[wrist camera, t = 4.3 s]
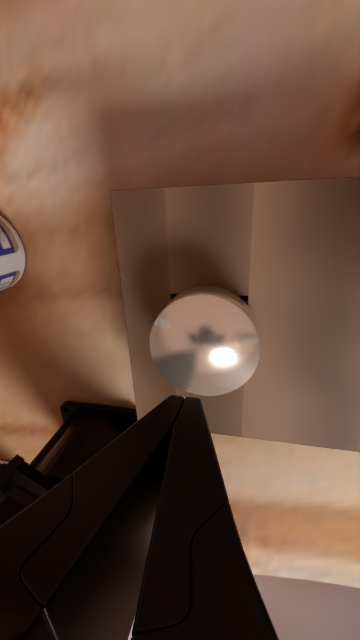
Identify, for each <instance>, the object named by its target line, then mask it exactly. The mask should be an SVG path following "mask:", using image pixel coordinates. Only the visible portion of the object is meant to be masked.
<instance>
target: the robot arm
mask: <svg viewBox="0 0 360 640" xmlns="http://www.w3.org/2000/svg"><path fill="white" fill-rule="evenodd" d="M60 410H61V414H62V418H63V424H62V426H61V427H60V428H59V429H58V431H57V432H56V433H55V434H54V435H53V437H52V438H51V439H50V440H49V441H48V443H47V444H46V445H45V446H44V447H43V449H42V450H41V451H40V452H39V454H38V455H37V456H36V457H35V458H34V460H33V461H32V462H31V463H30V464H28V463H26V462H25V461H24V458H22V457H21V456H19V455H18V454H17V455H16V456H15V457H14V458H13V459H12V460H11V461H10V462H9V463H8V464H6V463H4V464H0V640H128V636H129V633H130V630H131V627H132V624H133V621H134V625H133V630H132V638H131V640H279V639H278V636H277V634H276V631H275V629H274V626H273V624H272V621H271V619H270V616H269V614H268V612H267V609H266V607H265V604H264V602H263V599H262V597H261V594H260V592H259V590H258V587H257V585H256V582H255V579H254V576H253V574H252V571H251V568H250V566H249V563H248V560H247V558H246V555H245V552H244V550H243V546H242V543H241V540H240V537H239V533H238V530H237V527H236V524H235V520H234V517H233V513H232V510H231V506H230V504H229V499H228V496H227V492H226V488H225V485H224V481H223V477H222V474H221V470H220V466H219V463H218V459H217V455H216V452H215V448H214V444H213V441H212V437H211V433H210V430H209V426H208V423H207V419H206V415H205V412H204V408H203V404H202V401H201V398H199V397H190V396H188V397H186V398H185V397H184V396H180V395H170V396H168V397H167V398H166V399H165V400H163V401H162V402H161V403H160V404H158V405H157V406H156V407H155V408H153V409H152V410H151V411H150V412H148V413H147V414H146V415H145V416H143V417H142V418H141V419H140V420H138V419H137V411H136V410H135V409H129V408H120V407H112V406H103V405H94V404H86V403H77V402H69V401H66V402H64V403H63V404H62V405H61V407H60ZM131 415H132V416H134V417H132V416H131ZM135 614H136V615H135ZM134 617H135V620H134Z"/></svg>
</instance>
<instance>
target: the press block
mask: <svg viewBox="0 0 360 640" xmlns="http://www.w3.org/2000/svg"><path fill="white" fill-rule="evenodd" d="M110 197H111V205H112V213H113V221H114V230H115V238H116V246H117V254H118V263H119V271H120V279H121V287H122V296H123V304H124V312H125V320H126V328H127V337H128V345H129V353H130V361H131V370H132V378H133V386H134V394H135V403H136V411H137V419H138V420H140V419H141V418H142V417H143V416H145V415H146V414H147V413H148V412H150V411H151V410H152V409H153V408H155V407H156V406H157V405H158V404H160V403H161V402H162V401H163V400H165V399H166V398H167V397H168V396H170V395H180V396H184V397H185V398H186V397H188V396H190V397H199V398H201V401H202V404H203V408H204V412H205V415H206V419H207V423H208V426H209V430H210V433H214V434H222V435H230V436H238V437H245V438H253V439H261V440H269V441H277V442H285V443H292V444H300V445H308V446H316V447H324V448H332V449H340V450H347V451H355V452H360V177H346V178H329V179H311V180H293V181H275V182H257V183H239V184H222V185H204V186H186V187H168V188H150V189H133V190H115V191H110ZM198 286H215V287H219V288H223V289H226V290H228V291H230V292H232V293H234V294H236V295H245V296H247V305H248V306H249V307H250V309H251V310H252V312H253V313H254V316H255V318H256V321H257V324H258V330H259V342H260V356H259V362H258V365H257V367H256V369H255V371H254V373H253V375H252V376H251V377H250V379H249V380H248V381H247V382H246V383H245V384H243V385H242V386H241V387H239V388H237V389H236V390H234V391H231V392H229V393H226V394H222V395H217V396H202V395H196V394H192V393H189V392H186V391H184V390H182V389H180V388H178V387H176V386H175V385H173V384H172V383H170V382H169V381H168V380H167V379H166V378H165V377H164V376H163V375H162V374H161V373H160V371H159V370H158V368H157V367H156V365H155V363H154V361H153V359H152V355H151V352H150V333H151V329H152V326H153V324H154V322H155V320H156V319H157V317H158V316H159V315H160V313H161V312H162V311H163V309H164V308H165V307H166V305H167V304H168V303H169V302H170V301H171V300H172V299H173V298H174V297H175V296H176V295H178V294H179V293H181V292H183V291H185V290H187V289H190V288H193V287H198Z"/></svg>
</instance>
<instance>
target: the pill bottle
mask: <svg viewBox="0 0 360 640" xmlns="http://www.w3.org/2000/svg"><path fill="white" fill-rule="evenodd" d="M24 268H25V252H24V247H23V244H22V242H21V240H20V238H19V236H18V234H17V232H16V231H15V229H14V228H13V227H12V226H11V225H10V223H9V222H8V221H7V220H5V219H4V218H3V217H2V216H0V291H2V290H4V289H7V288H9V287H11V286H13V285H14V284H16V283H17V282H18V281H19V279H20V278H21V276H22V274H23V272H24Z"/></svg>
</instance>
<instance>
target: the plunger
mask: <svg viewBox="0 0 360 640" xmlns="http://www.w3.org/2000/svg"><path fill="white" fill-rule="evenodd" d="M150 352H151V355H152V359H153V361H154V363H155V365H156V367H157V368H158V370H159V371H160V373H161V374H162V375H163V376H164V377H165V378H166V379H167V380H168V381H169V382H170V383H172V384H173V385H175V386H176V387H178V388H180V389H182V390H184V391H186V392H189V393H192V394H196V395H202V396H217V395H222V394H226V393H229V392H231V391H234V390H236V389H237V388H239V387H241V386H242V385H243V384H245V383H246V382H247V381H248V380H249V379H250V377H251V376H252V375H253V373H254V371H255V369H256V367H257V365H258V362H259V356H260V342H259V330H258V324H257V321H256V318H255V316H254V313H253V312H252V310H251V309H250V307H249V306H248V305H247V304H246V302H245V301H244V300H242V299H241V298H240V297H239V296H237V295H236V294H234V293H232V292H230V291H228V290H226V289H223V288H219V287H215V286H198V287H193V288H190V289H187V290H185V291H183V292H181V293H179V294H178V295H176V296H175V297H174V298H173V299H172V300H171V301H170V302H169V303H168V304H167V305H166V307H165V308H164V309H163V311H162V312H161V313H160V315H159V316H158V317H157V319H156V320H155V322H154V324H153V326H152V329H151V333H150Z"/></svg>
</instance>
